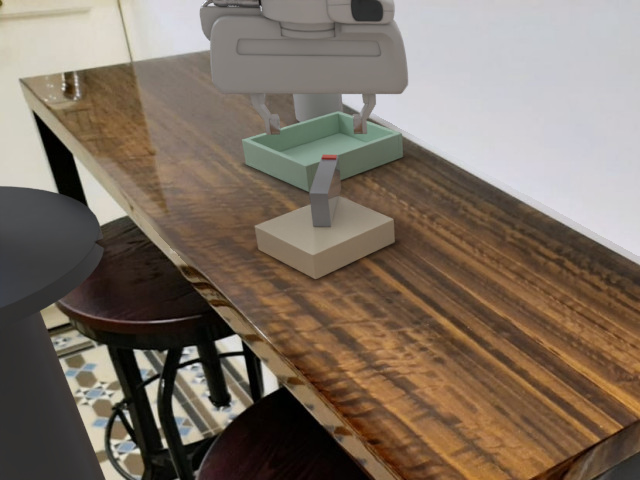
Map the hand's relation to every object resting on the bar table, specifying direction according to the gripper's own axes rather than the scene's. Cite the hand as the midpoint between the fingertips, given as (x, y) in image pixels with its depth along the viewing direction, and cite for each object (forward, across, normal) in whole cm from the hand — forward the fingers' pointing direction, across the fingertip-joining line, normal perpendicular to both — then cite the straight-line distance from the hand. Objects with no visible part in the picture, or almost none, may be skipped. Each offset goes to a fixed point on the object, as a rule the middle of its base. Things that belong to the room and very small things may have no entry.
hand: (317, 132), depth 82 cm
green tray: (+12, 0, +22) cm, 25 cm away
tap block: (+12, 0, -4) cm, 13 cm away
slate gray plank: (+9, 0, 0) cm, 9 cm away
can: (+12, 0, +38) cm, 40 cm away
